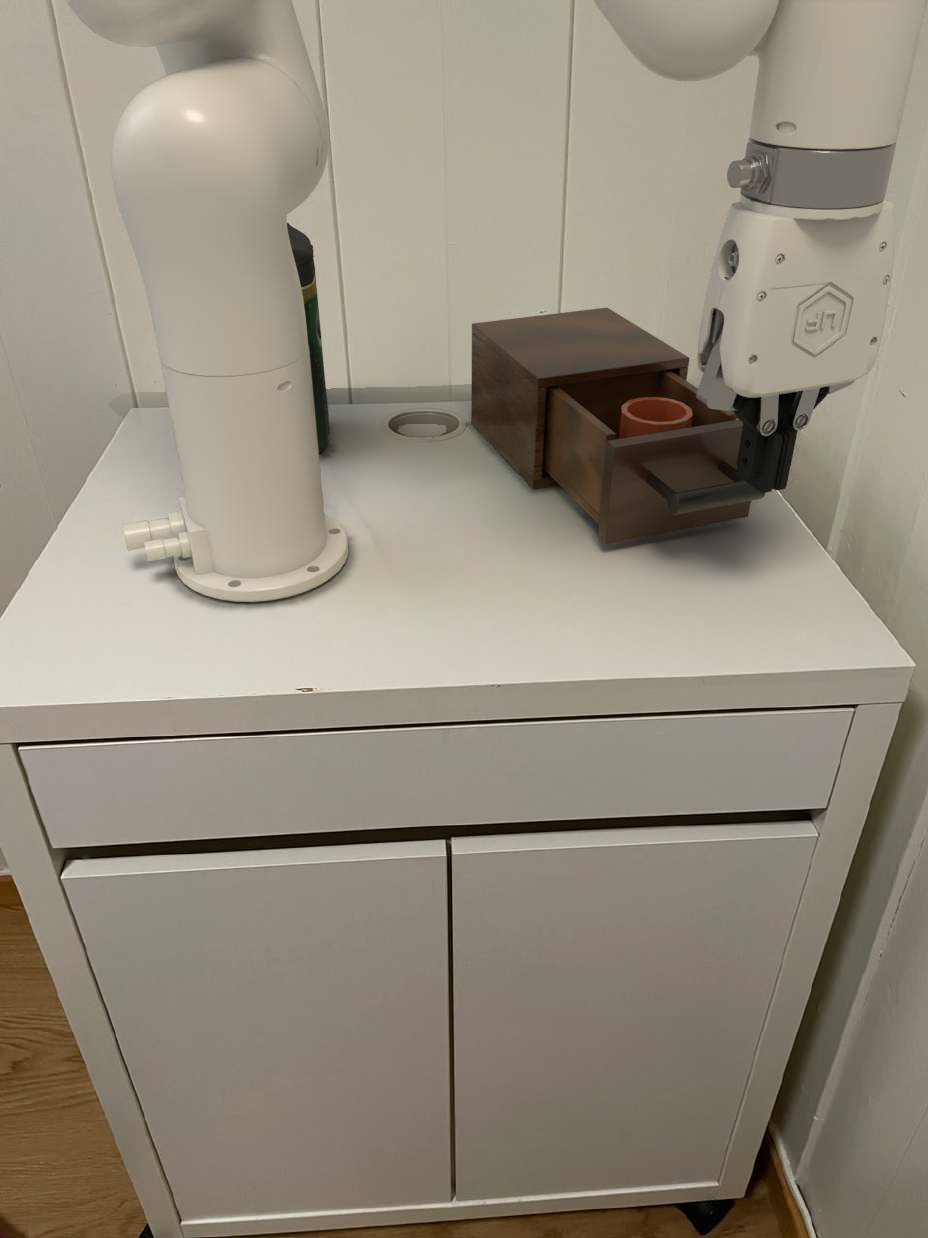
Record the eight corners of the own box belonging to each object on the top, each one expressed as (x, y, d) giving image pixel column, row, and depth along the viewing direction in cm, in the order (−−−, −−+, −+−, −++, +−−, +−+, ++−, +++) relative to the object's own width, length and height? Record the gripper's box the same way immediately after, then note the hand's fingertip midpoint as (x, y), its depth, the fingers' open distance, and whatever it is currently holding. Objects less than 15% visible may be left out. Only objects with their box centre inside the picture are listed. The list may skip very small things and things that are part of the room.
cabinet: (675, 464, 85) (690, 357, 80) (533, 489, 81) (537, 378, 76) (599, 404, 97) (607, 307, 91) (471, 423, 93) (471, 323, 87)
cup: (634, 500, 75) (641, 428, 72) (602, 471, 80) (609, 401, 76) (695, 490, 77) (706, 418, 74) (661, 462, 81) (670, 392, 78)
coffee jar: (244, 422, 93) (216, 216, 82) (328, 417, 94) (311, 213, 83) (241, 466, 85) (209, 244, 75) (332, 460, 86) (314, 240, 76)
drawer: (785, 545, 72) (806, 448, 68) (636, 577, 68) (648, 476, 64) (660, 448, 86) (671, 362, 82) (531, 469, 83) (535, 380, 78)
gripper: (735, 202, 48) (690, 529, 58) (975, 178, 52) (893, 488, 63) (658, 175, 54) (630, 477, 64) (880, 156, 58) (820, 442, 68)
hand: (760, 482), depth 63 cm, fingers closed
